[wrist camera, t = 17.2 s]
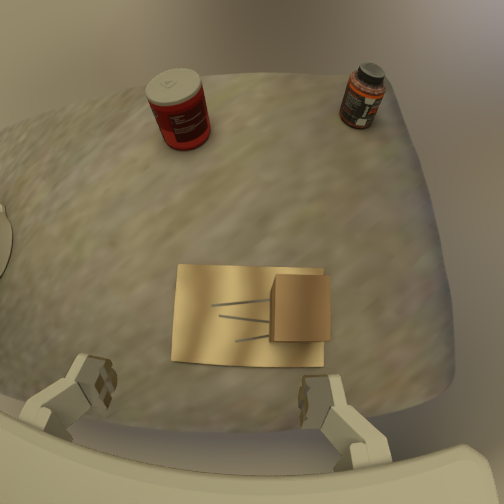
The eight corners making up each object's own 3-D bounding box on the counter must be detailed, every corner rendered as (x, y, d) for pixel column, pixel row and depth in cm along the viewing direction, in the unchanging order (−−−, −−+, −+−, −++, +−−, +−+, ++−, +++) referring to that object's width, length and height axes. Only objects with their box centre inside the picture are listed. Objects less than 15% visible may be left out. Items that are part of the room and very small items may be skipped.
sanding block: (268, 342, 34) (274, 340, 25) (270, 291, 36) (275, 273, 27) (311, 342, 34) (330, 340, 25) (311, 292, 36) (329, 275, 27)
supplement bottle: (367, 135, 44) (388, 87, 34) (334, 121, 45) (349, 70, 35) (374, 114, 46) (393, 68, 35) (343, 101, 47) (357, 53, 36)
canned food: (177, 113, 47) (162, 65, 36) (219, 121, 46) (211, 71, 35) (155, 146, 44) (134, 99, 34) (198, 156, 43) (184, 106, 33)
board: (173, 360, 34) (171, 360, 33) (180, 266, 38) (178, 263, 37) (321, 366, 34) (323, 366, 33) (321, 270, 38) (323, 268, 36)
